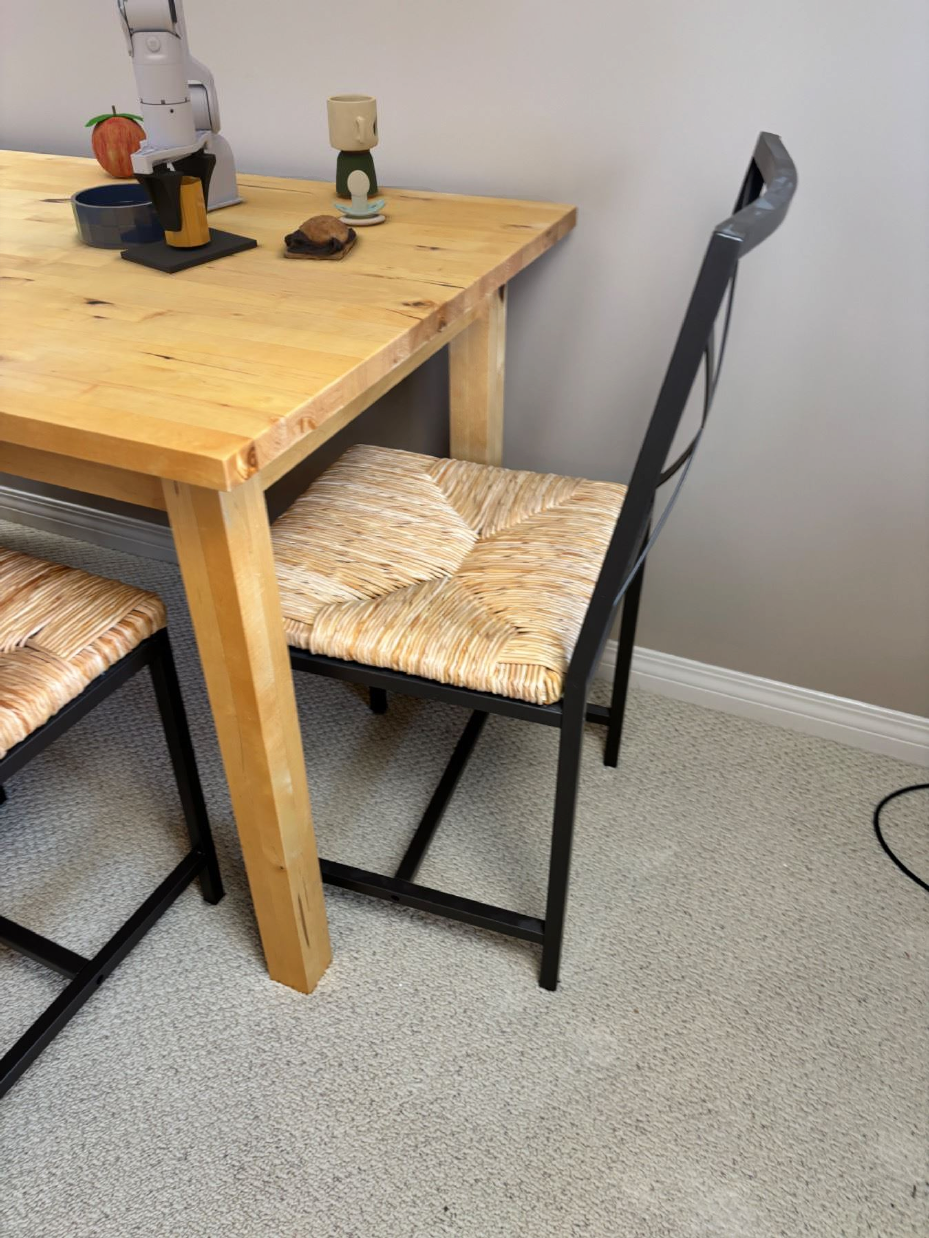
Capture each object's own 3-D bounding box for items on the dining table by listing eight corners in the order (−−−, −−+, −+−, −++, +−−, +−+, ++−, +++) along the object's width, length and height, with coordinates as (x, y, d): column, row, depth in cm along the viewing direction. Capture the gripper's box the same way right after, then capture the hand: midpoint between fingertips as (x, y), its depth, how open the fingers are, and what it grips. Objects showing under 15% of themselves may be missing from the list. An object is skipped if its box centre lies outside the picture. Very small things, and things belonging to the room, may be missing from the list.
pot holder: (209, 233, 125) (208, 227, 125) (257, 246, 121) (256, 240, 120) (121, 258, 117) (119, 251, 116) (170, 273, 112) (169, 266, 112)
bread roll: (301, 234, 126) (298, 205, 123) (362, 237, 125) (360, 207, 122) (277, 258, 117) (273, 227, 115) (343, 261, 116) (340, 230, 114)
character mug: (390, 202, 139) (386, 103, 131) (344, 206, 136) (337, 106, 128) (369, 185, 146) (364, 90, 139) (325, 189, 144) (317, 93, 136)
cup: (190, 232, 121) (181, 173, 117) (219, 240, 118) (210, 180, 114) (157, 241, 118) (146, 181, 113) (185, 249, 115) (175, 188, 111)
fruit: (98, 171, 153) (83, 102, 147) (158, 168, 155) (146, 100, 148) (95, 184, 146) (79, 112, 140) (158, 180, 148) (145, 109, 142)
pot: (140, 216, 132) (132, 178, 129) (200, 232, 126) (193, 193, 123) (60, 237, 124) (50, 196, 121) (119, 255, 118) (110, 213, 114)
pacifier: (390, 226, 129) (383, 213, 133) (389, 178, 125) (382, 166, 129) (337, 229, 128) (332, 216, 132) (334, 180, 124) (329, 168, 128)
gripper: (168, 89, 115) (188, 206, 123) (98, 109, 104) (124, 237, 112) (219, 92, 113) (236, 211, 121) (153, 113, 102) (176, 242, 110)
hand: (186, 224), depth 117 cm, fingers closed on cup, 5 cm apart
